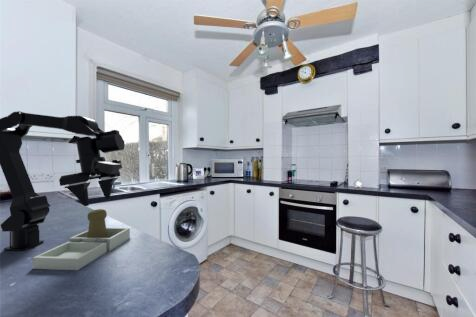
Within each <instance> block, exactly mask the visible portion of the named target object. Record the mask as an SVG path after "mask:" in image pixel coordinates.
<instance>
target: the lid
mask: <svg viewBox="0 0 476 317" xmlns="http://www.w3.org/2000/svg"><path fill="white" fill-rule="evenodd" d="M107 252H108V251H107V243H105V242H69V241H67V242H64V243H62V244H59V245H58V246H55V247H53V248H51V249H49V250H47V251H44V252H42V253H40V254H38V255H36V256H33V257H32V270H33V269H34V270H58V271H59V270H61V271H64V270H65V271H79V270H80V269H82V268H84V267H85V266H87V265H89V264H90V263H92V262H93V261H95V260H96V259H98V258H100V257H101V256H103V255H104V254H106V253H107Z"/></svg>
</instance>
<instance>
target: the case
mask: <svg viewBox="0 0 476 317" xmlns="http://www.w3.org/2000/svg"><path fill="white" fill-rule="evenodd" d="M130 228H131V227H106V231H107V238H87V235H88V229H87V230H85V231H83V232H81V233H78V234H76V235H73V236H72V237H69V238H68V242H105V243H107V252H108V251H109V252H111V251H112V250H113V249H115V248H116V247H118V246H119V245H121V244H123V243H125V242H126V241H127V240H129V239H130V238H131V234H130V232H131V231H130V230H131V229H130Z"/></svg>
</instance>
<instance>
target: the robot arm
mask: <svg viewBox="0 0 476 317" xmlns="http://www.w3.org/2000/svg"><path fill="white" fill-rule="evenodd" d="M32 127H39V128H40V127H41V128H48V129H56V130H57V129H58V130H62V131H66V132H69V133H72V134H76V135H73V136H72V138H70V139H69V140H68V142H67V143H68V144H71V145H72V144H73V145H76V148H77V155H78V158H79V159H76V160H75V163H76V164H79V165H80V171H81V172H76V173H70V174H65V175H61V176H60V178H59V179H58V180H59V181H58V182H59V185H60V186H59V187H61V186H64V189H68V190H69V191H70V192H71V193H72V194H73V195H74V196H75V197H76V198H77V199H78V201H79V202H80V203H81V204H82V205H83V207H88V206H89V205H90V203H89V202H90V200H89V199H90V198H89V192H88V191H89V190H88V188H89V186H90V184H91V182H90V181H91V180H96V179H98V181H97V182H98V185H99V187H100V189H101V190H100V191H101V192H102V194H103V196H104V198H105V200H106V201H107V200H110V199H111V194H112V188H113V185H114V183H115V182H116V180H118V179H119V177H120V176H121V172H120V170H121V169H123V164H122V161H121V159H113V160H112V161H106V158H105V156H101V152H102V153H103V154H107V153H113V152H114V153H115V152H120V151H124V149H125V147H126V146H125V141H124V139H123V137H122V135H121V134H120V131H119V130H117V129H112V130H110V131H109V130H108V131H103V129H101V128H100V127H99V123H98V122H97V121H96V120H94V119H91V118H88V117H85V116H82V115H67V116H60V117H59V116H53V115H44V114H38V113H37V114H36V113H29V112H23V111H19V110H18V111H17V110H16V111H13V112H11V113H10V114H8V115H7V116H4V117H1V118H0V168H1V170H2V174H3V176H4V179H5V181H6V184H7V186H8V189H9V191H10V194H11V196H12V201H11V203H10V207H9V211H10V212H9V213H10V216H8V217H7V218H6V219H5V220H4V221H3V222H2V223H0V228H1V232H9V245H8V246H6V247H4V248H3V251H24V250H27V249H30V248H32V247H35V246H37V245H40V244H42V243H44V240H40V230H39V229H40V225H39V224H42V223H44V222H45V219H46V218H47V216H48V215H49V213H50V207H51V205H50V203H49V202H48V197H47V195H44V194H43V195H39V194H38V193H37V192H36V191H35V189H34V186H33V184H32V182H31V178H30V176H29V173H28V171H27V168H26V165H25V163H24V161H23V158H22V155H21V153H20V150H21V148H22V146H23V140H22V139H23V137H25V136H27V135H28V133H29V131H30V128H32ZM79 135H83V136H82V137H80V136H79ZM92 137H93V138H92ZM88 181H89V182H88Z"/></svg>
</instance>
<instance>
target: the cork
mask: <svg viewBox="0 0 476 317" xmlns="http://www.w3.org/2000/svg"><path fill="white" fill-rule="evenodd" d="M107 214H108V213H107V211H106V209H101V208H99V209H93V210H90V211H89V212H88V213H87V220H88V221H89V224H88V229H87V230H88V235H87V238H107V231H106V228H107V225H106V218H107V216H108V215H107Z"/></svg>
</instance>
